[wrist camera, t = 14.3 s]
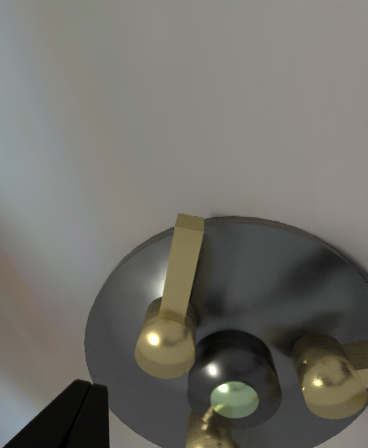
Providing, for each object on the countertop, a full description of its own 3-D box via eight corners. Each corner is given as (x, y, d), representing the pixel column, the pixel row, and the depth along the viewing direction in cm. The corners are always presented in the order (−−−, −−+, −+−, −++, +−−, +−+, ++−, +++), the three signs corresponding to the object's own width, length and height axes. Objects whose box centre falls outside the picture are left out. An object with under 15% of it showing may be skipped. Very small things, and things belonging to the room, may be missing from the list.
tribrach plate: (435, 262, 19) (498, 304, 15) (308, 466, 26) (327, 532, 22) (116, 179, 18) (90, 200, 14) (76, 410, 25) (52, 467, 21)
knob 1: (191, 342, 20) (188, 383, 17) (142, 332, 20) (131, 372, 17) (220, 219, 17) (223, 243, 14) (162, 208, 17) (153, 230, 14)
